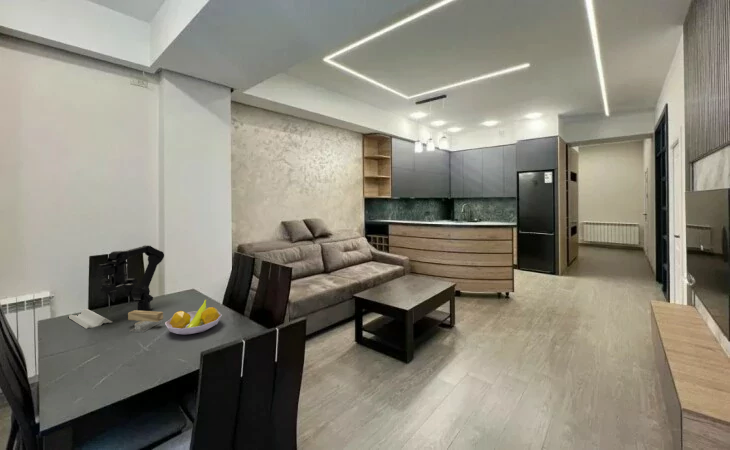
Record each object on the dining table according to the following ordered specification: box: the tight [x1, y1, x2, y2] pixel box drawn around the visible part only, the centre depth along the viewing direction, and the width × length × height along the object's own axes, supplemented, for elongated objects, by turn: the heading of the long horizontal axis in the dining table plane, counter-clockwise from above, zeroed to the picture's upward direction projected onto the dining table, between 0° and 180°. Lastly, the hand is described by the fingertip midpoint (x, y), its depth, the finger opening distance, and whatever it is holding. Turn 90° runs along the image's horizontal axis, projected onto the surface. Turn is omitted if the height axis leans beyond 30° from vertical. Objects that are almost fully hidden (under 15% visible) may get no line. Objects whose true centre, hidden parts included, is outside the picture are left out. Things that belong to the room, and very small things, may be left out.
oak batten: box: [127, 309, 164, 322], centre depth 168 cm, size 4×18×4 cm, turn 81°
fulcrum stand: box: [128, 320, 164, 333], centre depth 168 cm, size 14×8×4 cm, turn 175°
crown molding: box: [68, 308, 113, 330], centre depth 179 cm, size 31×12×4 cm, turn 57°
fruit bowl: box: [164, 299, 223, 336], centre depth 166 cm, size 28×27×11 cm
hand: (120, 299), depth 179 cm, fingers open, 9 cm apart
